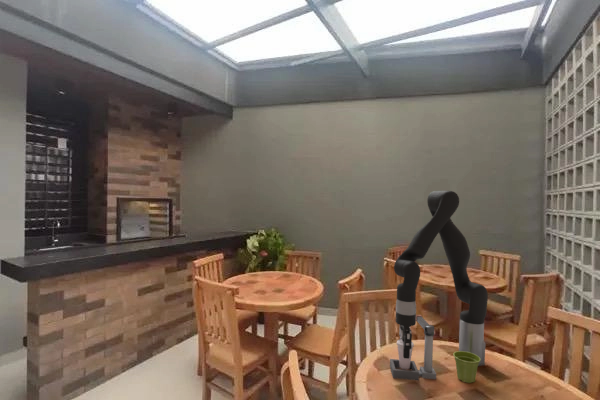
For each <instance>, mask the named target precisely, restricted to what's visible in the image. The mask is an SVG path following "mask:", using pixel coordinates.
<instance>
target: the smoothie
mask: <svg viewBox="0 0 600 400" xmlns="http://www.w3.org/2000/svg"><path fill="white" fill-rule="evenodd" d="M396 345H397V352H398V353H397V354H398V360H399V365H400V368H399V369H401V370H410V369H409V368H410V362H411V361H412V355H413V354H412V353H413V348H414V347H415V345H414V342H413V341H412V344H411V347H412V348H411V349H410V358H404V357H403V342H402V339H400V338H399V339H397V341H396ZM406 345H408V343H406Z"/></svg>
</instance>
